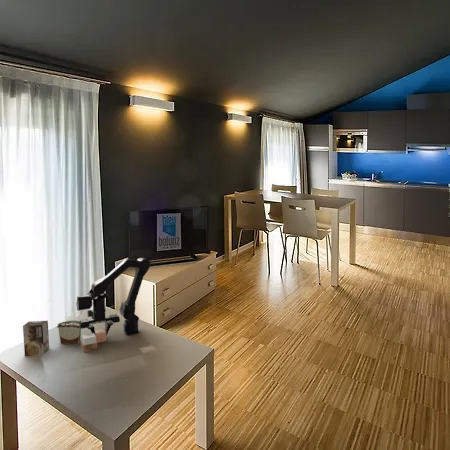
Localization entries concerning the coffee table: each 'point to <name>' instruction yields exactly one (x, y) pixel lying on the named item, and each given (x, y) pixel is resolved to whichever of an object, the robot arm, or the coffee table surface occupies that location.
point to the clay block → (100, 335)
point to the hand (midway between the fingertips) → (100, 337)
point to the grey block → (88, 339)
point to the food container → (69, 332)
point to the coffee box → (36, 338)
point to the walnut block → (88, 347)
